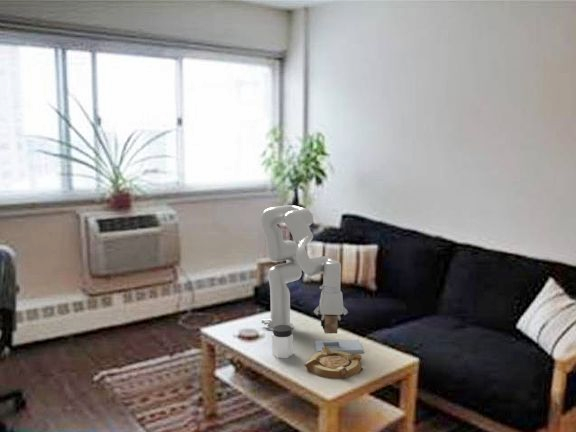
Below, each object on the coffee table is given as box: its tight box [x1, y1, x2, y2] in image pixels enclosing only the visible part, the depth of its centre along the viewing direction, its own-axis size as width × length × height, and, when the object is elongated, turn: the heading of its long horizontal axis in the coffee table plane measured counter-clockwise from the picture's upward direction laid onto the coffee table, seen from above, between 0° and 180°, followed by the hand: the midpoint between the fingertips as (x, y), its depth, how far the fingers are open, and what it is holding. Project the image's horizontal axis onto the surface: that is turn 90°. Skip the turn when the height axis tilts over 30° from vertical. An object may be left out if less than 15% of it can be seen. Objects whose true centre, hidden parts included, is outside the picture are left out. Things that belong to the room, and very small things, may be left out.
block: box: [323, 315, 338, 334], centre depth 250 cm, size 6×6×8 cm
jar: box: [271, 325, 294, 359], centre depth 244 cm, size 9×8×12 cm
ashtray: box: [304, 346, 363, 380], centre depth 232 cm, size 24×24×5 cm
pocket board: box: [314, 338, 364, 354], centre depth 251 cm, size 20×12×2 cm, turn 92°
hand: (330, 327), depth 250 cm, fingers closed on block, 5 cm apart
